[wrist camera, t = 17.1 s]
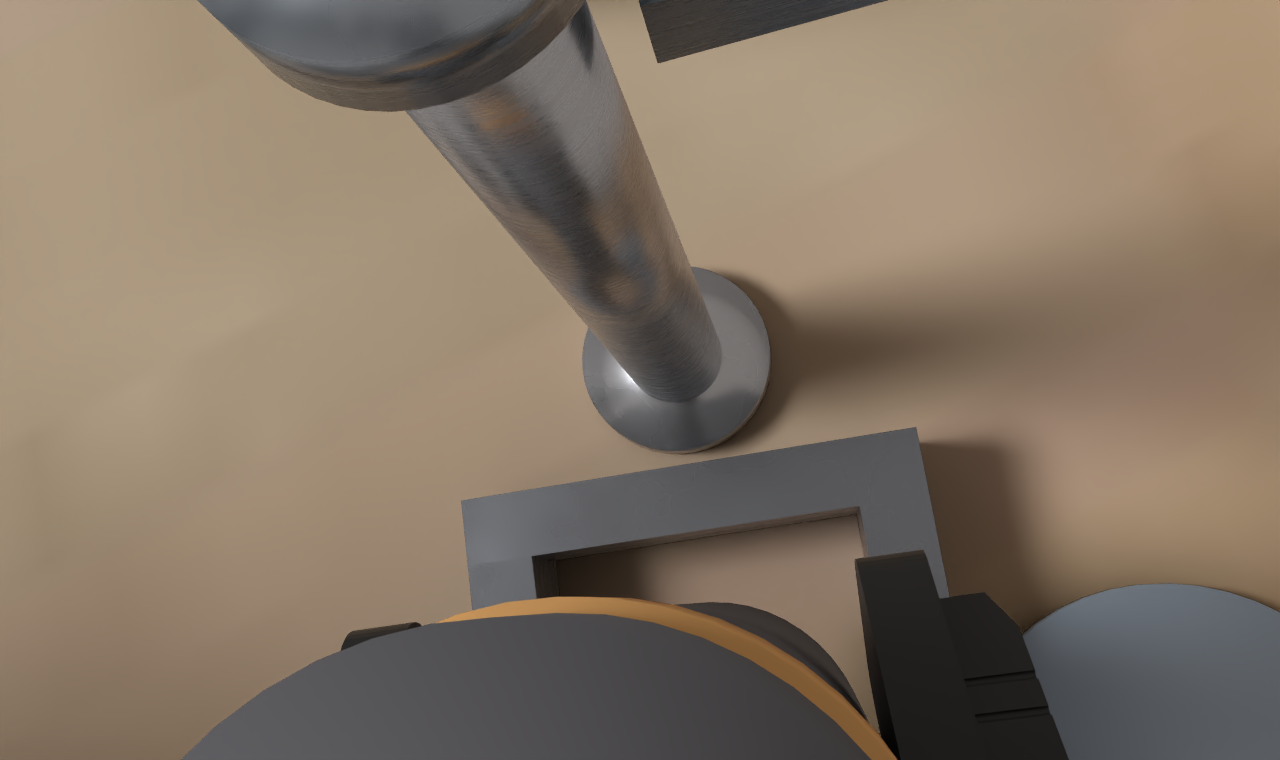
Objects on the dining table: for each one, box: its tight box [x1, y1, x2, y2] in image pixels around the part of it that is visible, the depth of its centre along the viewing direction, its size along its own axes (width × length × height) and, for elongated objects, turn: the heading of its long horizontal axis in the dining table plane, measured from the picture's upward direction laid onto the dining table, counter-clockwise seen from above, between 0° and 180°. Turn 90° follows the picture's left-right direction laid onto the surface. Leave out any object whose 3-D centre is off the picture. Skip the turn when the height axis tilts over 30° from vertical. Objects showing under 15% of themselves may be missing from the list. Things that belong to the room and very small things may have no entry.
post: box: [406, 0, 771, 454], centre depth 16 cm, size 4×4×16 cm
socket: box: [461, 427, 950, 610], centre depth 22 cm, size 9×9×2 cm
